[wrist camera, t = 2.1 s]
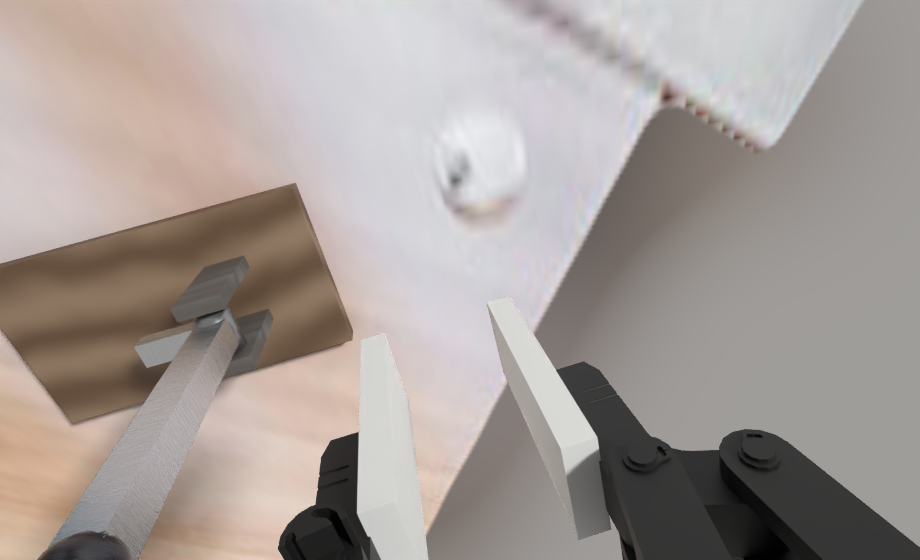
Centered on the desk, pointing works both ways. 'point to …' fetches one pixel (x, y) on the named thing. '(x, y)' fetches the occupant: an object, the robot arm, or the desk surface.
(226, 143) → the desk surface
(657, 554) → the robot arm
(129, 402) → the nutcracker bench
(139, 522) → the lever
